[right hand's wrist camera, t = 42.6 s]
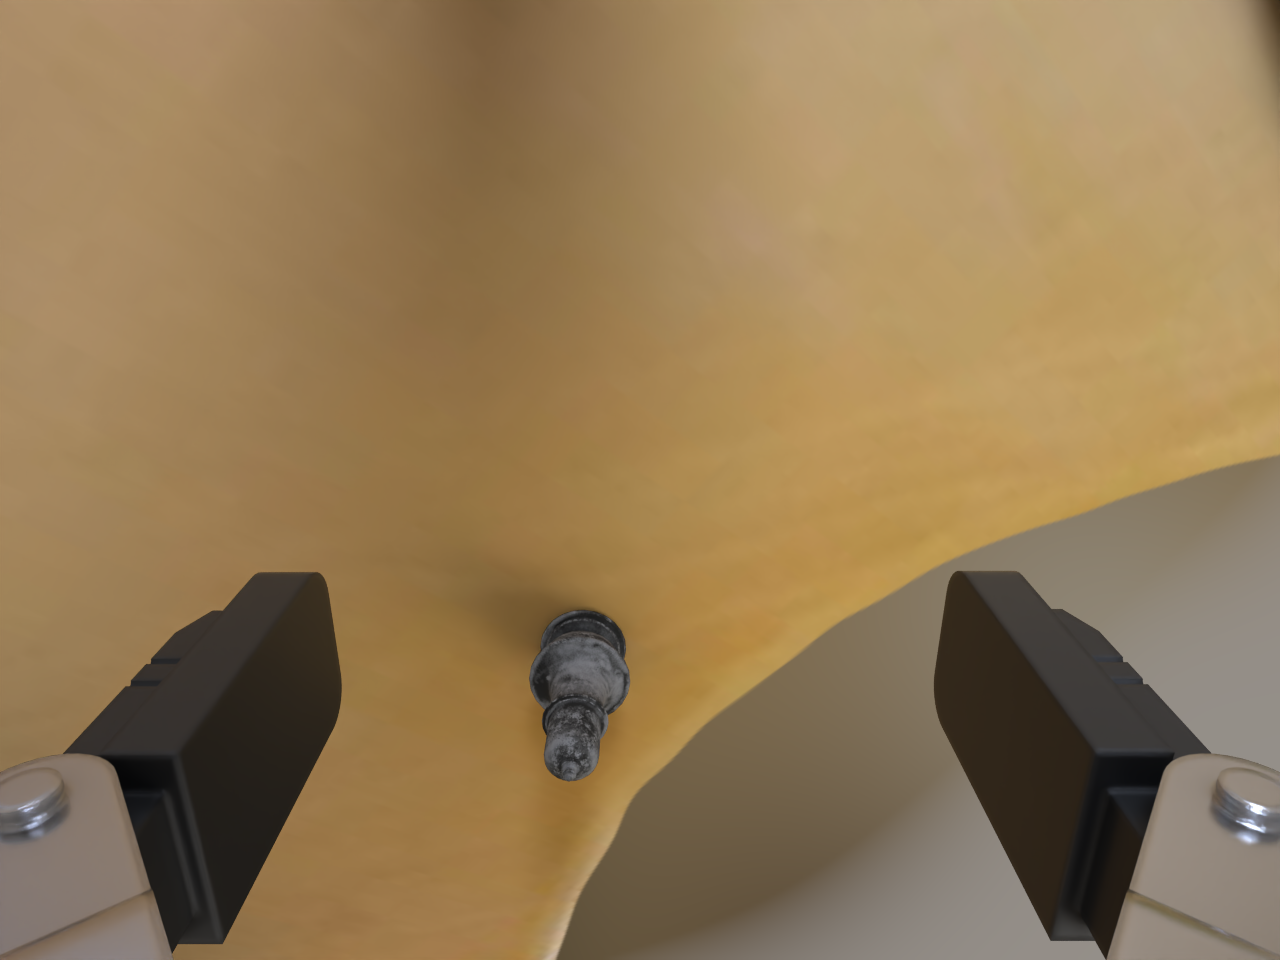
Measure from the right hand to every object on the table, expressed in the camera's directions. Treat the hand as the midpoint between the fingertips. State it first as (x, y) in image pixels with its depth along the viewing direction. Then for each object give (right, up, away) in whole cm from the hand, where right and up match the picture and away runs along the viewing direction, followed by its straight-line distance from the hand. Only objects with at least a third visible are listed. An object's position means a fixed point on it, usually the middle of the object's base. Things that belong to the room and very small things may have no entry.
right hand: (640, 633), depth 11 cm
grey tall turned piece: (-4, -8, +43) cm, 44 cm away
